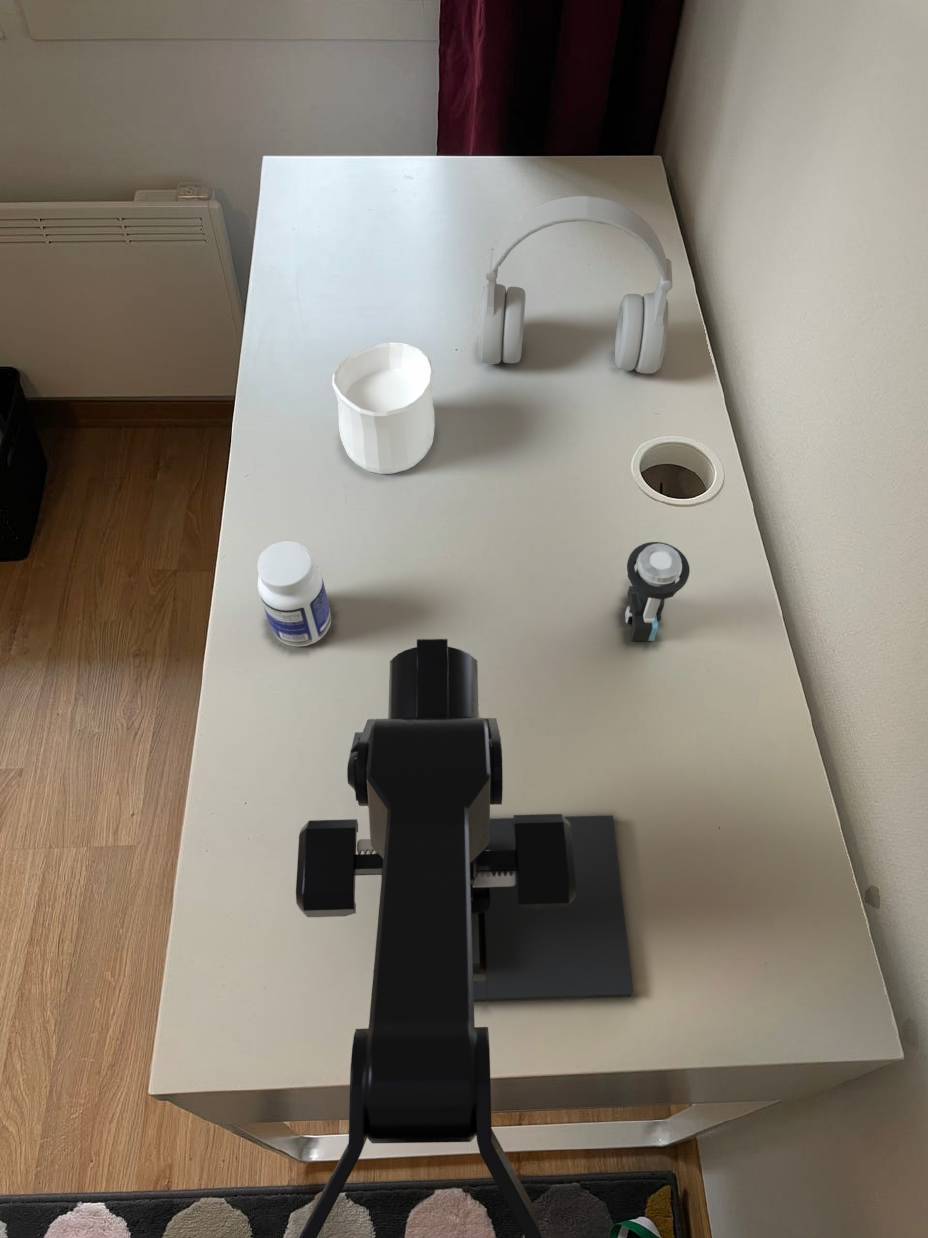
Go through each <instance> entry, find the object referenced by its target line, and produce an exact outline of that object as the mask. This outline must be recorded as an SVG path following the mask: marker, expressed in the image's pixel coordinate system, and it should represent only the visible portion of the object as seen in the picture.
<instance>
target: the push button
mask: <svg viewBox="0 0 928 1238" xmlns="http://www.w3.org/2000/svg"><path fill="white" fill-rule="evenodd" d="M635 566H636V568H635ZM690 568H691V567H690V563H689V561H688V559H687V558H686V556H685V554H684V553H682V551H681V550H679V549H678V548H677V547H675V546H673V545H671V544H669V543H665V542H662V541H661V542H660V541H649V542H645V543H642V544H639V545H638V546H637V547H635V548H634V549H633V550H632V551H631V553H630V554H629V556H628V559H627V562H626V571H627V578H628V580H629V582H630V584H631V585H629V587H628V591H627V600H628V601H629V605H627V607H626V610H625V612H624V613H625V614H624V617H625V624H629V621H630V618H631V620H632V622H631V627H630V631H629V636H630V641H631V642H642V641H643V642H654V641H655V639H656V638H655V637H656V635H657V631H658V629H659V622H661V620H662V612H663V610H664V607H665V603H666V601H665V600H667V599H670V598H673V597H674V596H675V595H676V594H677V592H679V591H680V590H682V588H684V587H685V585H686V584H687V582H688V579H689V576H690V571H691V569H690Z"/></svg>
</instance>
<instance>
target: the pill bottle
mask: <svg viewBox="0 0 928 1238" xmlns="http://www.w3.org/2000/svg"><path fill="white" fill-rule="evenodd" d="M256 568H257V572H258V576H257V577H258V578H257V592H258V594H259V598H260V600H261V603H262V607H263V609H264V612H265V614H266V618H267V621H268V624H269V626H270V629H271V631H272V633H273V635H274V636H275V637H276V638H277V639H278V640H279V641H280V642H281V643H283V644H285V645H287V646H291V647H306V646H309V645H312V644H315V643H317V642H318V641H319V640H321V639H322V638H323V637H324V636H325V635H326V634H327V633H328V631H329V629H330V627H331V623H332V611H331V608H330V603H329V599H328V594H327V591H326V586H325V583H324V579H323V574H322V572H321V569H320V567H319V566H318V565H317V563H316V562H315V561H314V560H313V558H312V554H311V552H310V551H309V549H308V548H307V547H306V546H305V545H304V544H302V543H299V542H298V541H297V542H296V541H292V540H283V541H279V542H275V543H273V544H271V545H269V546H268V547H266V548H265V549H264V550H263V551H262V552H261V554H260V556H259V557H258V561H257V567H256Z"/></svg>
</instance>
